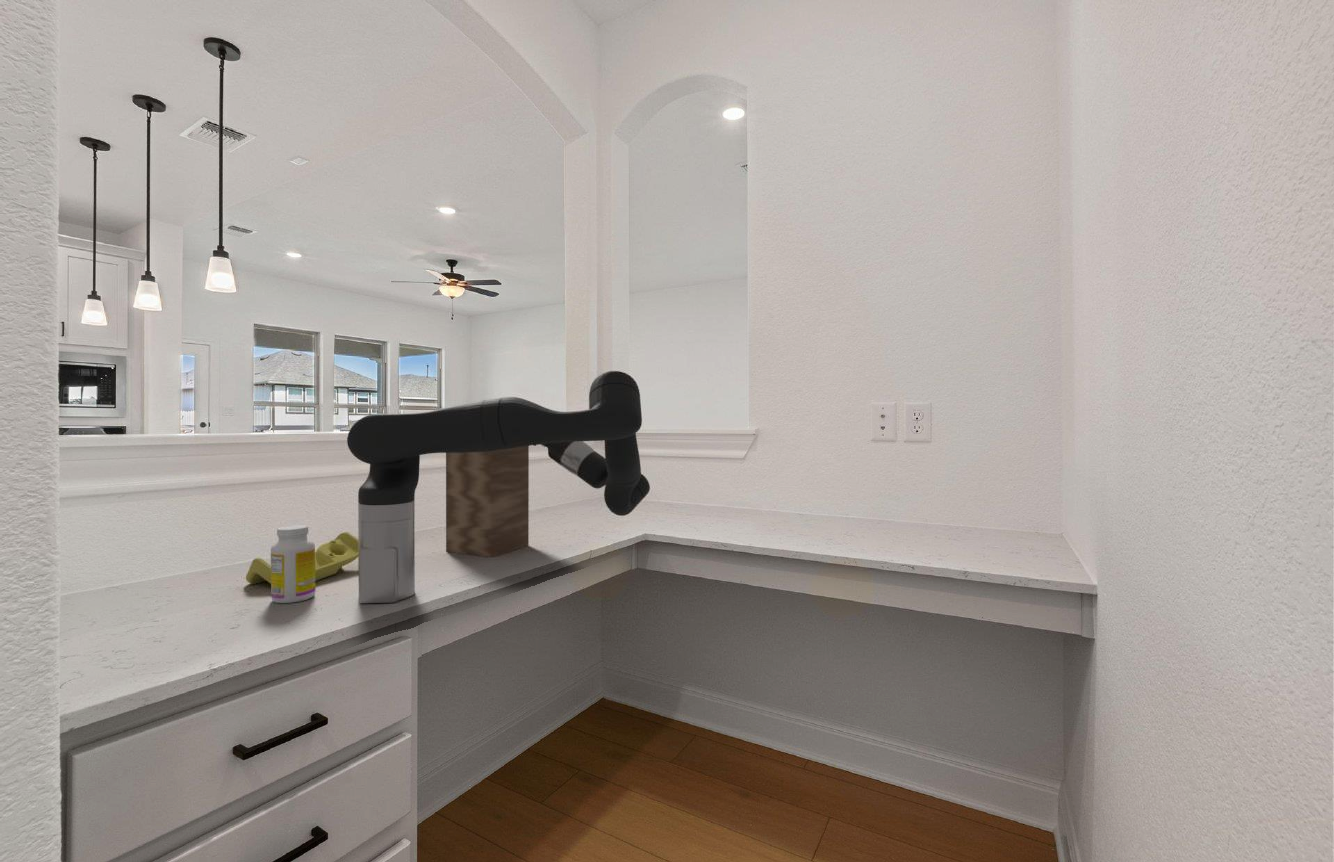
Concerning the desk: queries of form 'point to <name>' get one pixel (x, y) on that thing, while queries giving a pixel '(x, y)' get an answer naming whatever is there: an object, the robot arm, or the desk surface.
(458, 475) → the pedestal
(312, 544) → the supplement bottle
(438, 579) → the desk surface
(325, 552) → the plastic component
